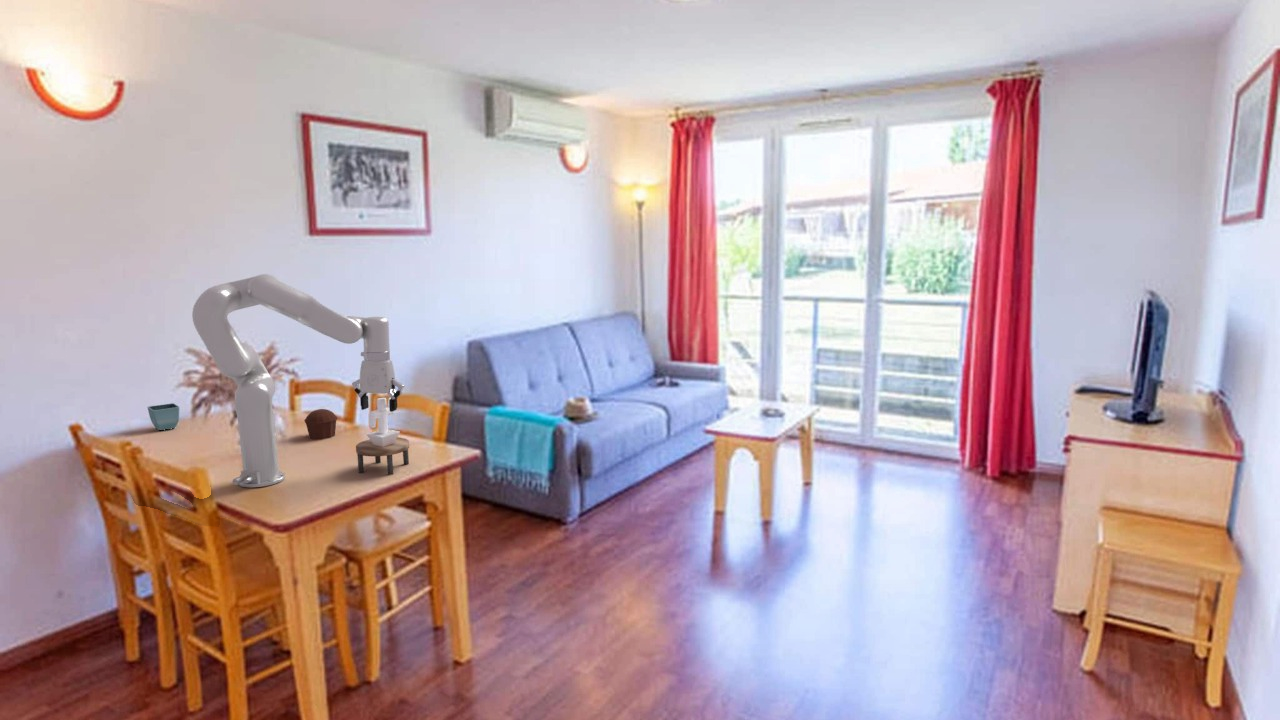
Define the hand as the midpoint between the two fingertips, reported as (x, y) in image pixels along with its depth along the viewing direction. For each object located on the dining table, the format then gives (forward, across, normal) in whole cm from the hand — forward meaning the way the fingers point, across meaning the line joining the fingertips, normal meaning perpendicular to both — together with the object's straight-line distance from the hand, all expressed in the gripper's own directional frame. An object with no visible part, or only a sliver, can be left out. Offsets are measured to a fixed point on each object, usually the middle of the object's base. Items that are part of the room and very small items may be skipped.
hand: (379, 409), depth 222 cm
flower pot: (+21, -106, +28) cm, 112 cm away
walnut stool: (+19, +1, 0) cm, 19 cm away
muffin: (+20, -41, +30) cm, 55 cm away
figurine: (+12, +1, +1) cm, 12 cm away
